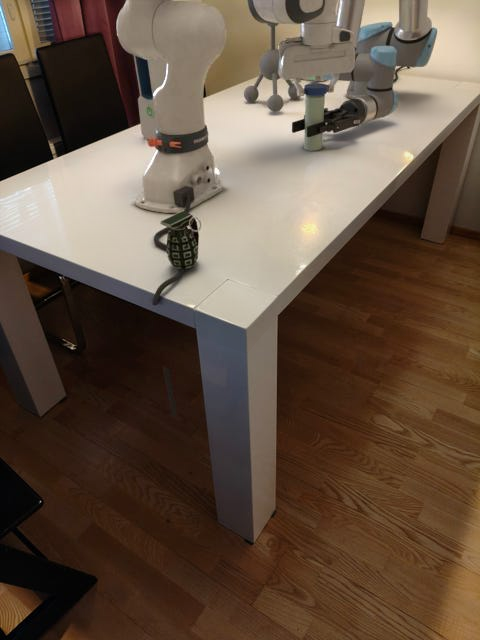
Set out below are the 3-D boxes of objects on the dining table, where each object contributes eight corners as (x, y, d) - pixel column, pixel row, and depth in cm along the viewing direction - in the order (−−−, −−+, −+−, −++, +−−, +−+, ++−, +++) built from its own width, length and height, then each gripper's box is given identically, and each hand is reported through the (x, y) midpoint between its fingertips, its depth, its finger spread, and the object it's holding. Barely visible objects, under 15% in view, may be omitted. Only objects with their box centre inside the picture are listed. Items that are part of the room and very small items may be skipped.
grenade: (182, 278, 88) (175, 228, 82) (162, 268, 91) (153, 219, 85) (208, 263, 92) (203, 214, 85) (187, 253, 95) (181, 205, 89)
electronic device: (141, 137, 154) (123, 28, 136) (159, 131, 158) (144, 24, 140) (166, 145, 147) (151, 30, 129) (185, 138, 151) (172, 26, 133)
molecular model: (322, 103, 175) (328, 5, 157) (274, 116, 166) (273, 12, 147) (282, 92, 191) (282, 1, 172) (235, 103, 181) (230, 8, 163)
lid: (312, 97, 127) (312, 89, 126) (299, 92, 132) (299, 85, 131) (331, 93, 129) (331, 86, 128) (318, 89, 134) (318, 82, 133)
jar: (303, 145, 142) (305, 86, 132) (321, 144, 141) (324, 86, 132) (304, 150, 138) (306, 91, 128) (322, 150, 137) (325, 90, 128)
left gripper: (282, 40, 118) (282, 101, 126) (360, 32, 122) (355, 92, 130) (274, 37, 123) (274, 95, 131) (349, 29, 126) (344, 87, 135)
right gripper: (379, 131, 141) (323, 151, 130) (333, 119, 152) (277, 136, 141) (383, 103, 136) (325, 122, 125) (334, 93, 148) (277, 109, 137)
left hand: (315, 93), depth 131 cm, fingers open, 7 cm apart
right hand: (300, 129), depth 133 cm, fingers closed on jar, 5 cm apart
